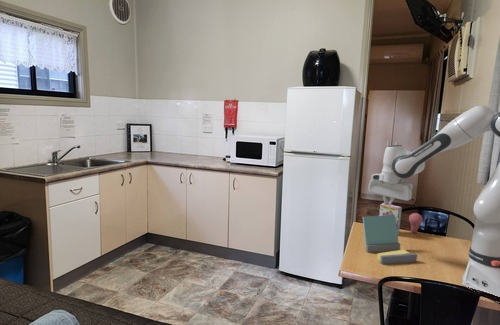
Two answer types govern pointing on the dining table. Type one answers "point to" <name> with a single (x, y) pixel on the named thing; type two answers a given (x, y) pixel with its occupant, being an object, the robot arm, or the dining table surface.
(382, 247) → the pair of grey bars
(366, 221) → the panel
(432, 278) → the dining table surface
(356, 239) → the dining table surface
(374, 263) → the dining table surface
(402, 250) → the pale yellow strip
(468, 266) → the robot arm
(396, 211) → the candy bar box
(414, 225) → the light bulb
